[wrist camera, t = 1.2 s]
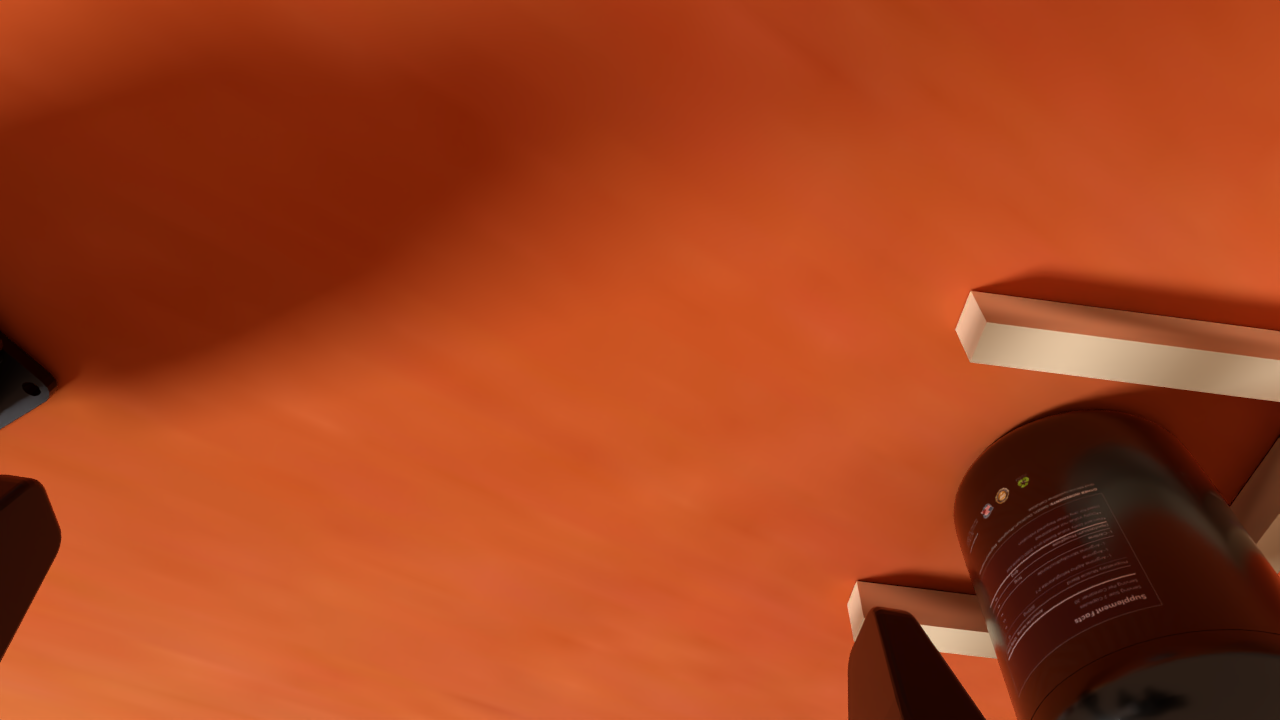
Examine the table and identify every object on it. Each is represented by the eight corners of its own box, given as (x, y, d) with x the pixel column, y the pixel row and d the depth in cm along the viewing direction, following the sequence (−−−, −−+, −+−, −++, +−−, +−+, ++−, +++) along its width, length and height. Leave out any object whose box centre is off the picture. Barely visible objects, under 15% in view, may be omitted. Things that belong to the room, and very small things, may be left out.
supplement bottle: (1241, 464, 25) (1589, 918, 15) (1062, 594, 29) (1253, 1032, 19) (1067, 359, 24) (1334, 796, 14) (899, 512, 27) (1016, 947, 17)
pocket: (847, 604, 30) (854, 641, 28) (970, 290, 22) (986, 322, 21) (1170, 643, 30) (1190, 681, 29) (1393, 346, 23) (1432, 379, 22)
